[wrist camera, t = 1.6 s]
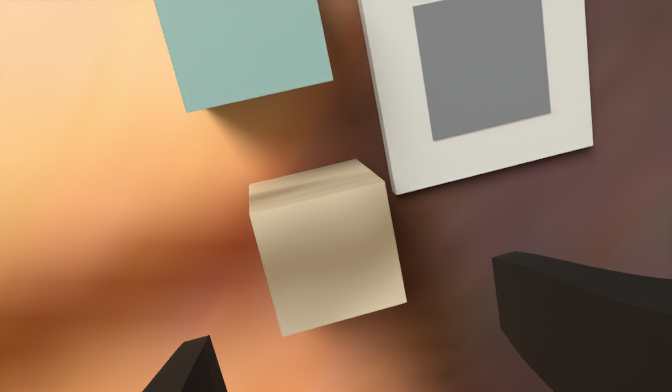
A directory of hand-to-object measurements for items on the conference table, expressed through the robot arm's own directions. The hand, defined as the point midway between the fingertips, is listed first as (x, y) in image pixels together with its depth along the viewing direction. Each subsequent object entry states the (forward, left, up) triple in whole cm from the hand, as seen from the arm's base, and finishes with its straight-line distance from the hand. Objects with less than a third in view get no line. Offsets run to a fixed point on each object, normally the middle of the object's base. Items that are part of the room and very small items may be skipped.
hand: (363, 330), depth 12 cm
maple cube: (0, 0, -9) cm, 9 cm away
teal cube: (+8, +1, -9) cm, 12 cm away
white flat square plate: (+5, -8, -9) cm, 13 cm away
